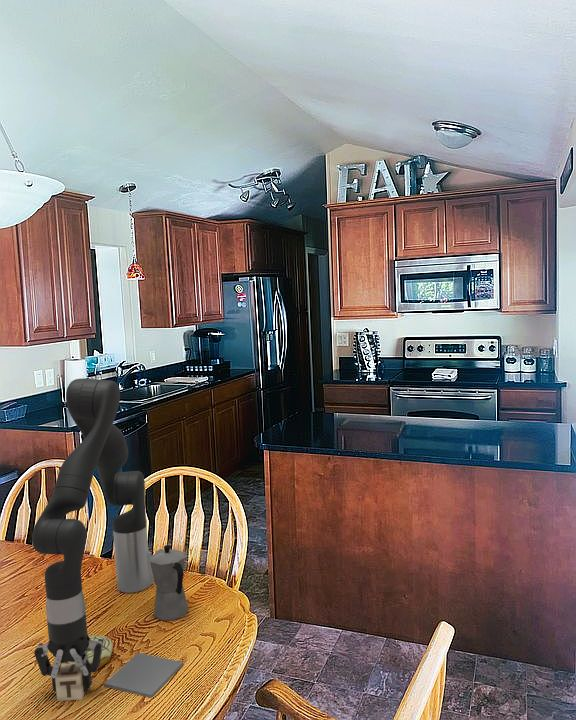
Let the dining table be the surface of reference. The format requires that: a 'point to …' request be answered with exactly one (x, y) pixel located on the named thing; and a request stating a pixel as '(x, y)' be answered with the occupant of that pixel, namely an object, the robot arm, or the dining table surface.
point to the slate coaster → (144, 674)
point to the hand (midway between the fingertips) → (73, 690)
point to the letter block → (69, 683)
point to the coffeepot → (169, 584)
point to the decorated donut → (105, 650)
